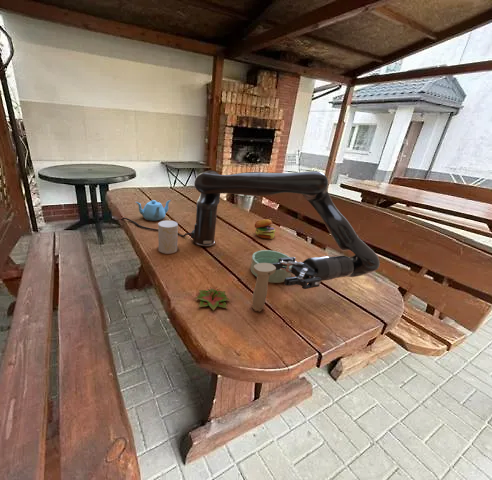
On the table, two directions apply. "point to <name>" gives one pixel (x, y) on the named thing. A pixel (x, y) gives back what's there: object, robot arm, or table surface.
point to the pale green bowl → (270, 257)
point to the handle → (261, 284)
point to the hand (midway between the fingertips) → (277, 274)
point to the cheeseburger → (264, 229)
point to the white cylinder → (167, 236)
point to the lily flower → (212, 298)
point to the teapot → (153, 210)
